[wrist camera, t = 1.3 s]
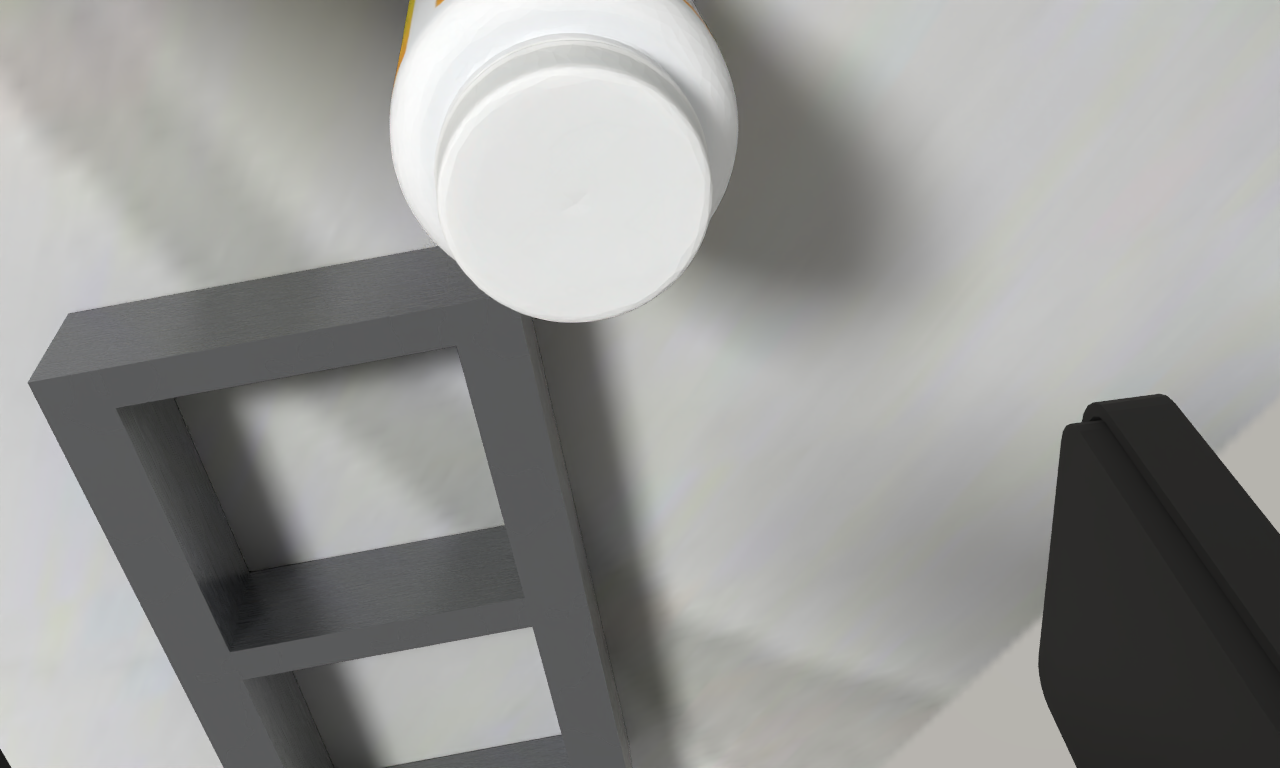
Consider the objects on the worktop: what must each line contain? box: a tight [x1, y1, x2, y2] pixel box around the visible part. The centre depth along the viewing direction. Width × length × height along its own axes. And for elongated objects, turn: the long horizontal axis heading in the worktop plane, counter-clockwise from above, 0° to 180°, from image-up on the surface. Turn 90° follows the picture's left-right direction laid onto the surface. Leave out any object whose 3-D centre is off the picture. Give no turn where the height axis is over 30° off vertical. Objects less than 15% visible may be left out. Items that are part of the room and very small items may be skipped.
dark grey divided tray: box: [28, 246, 632, 768], centre depth 32 cm, size 18×10×3 cm, turn 9°
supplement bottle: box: [390, 0, 738, 323], centre depth 21 cm, size 6×6×10 cm
